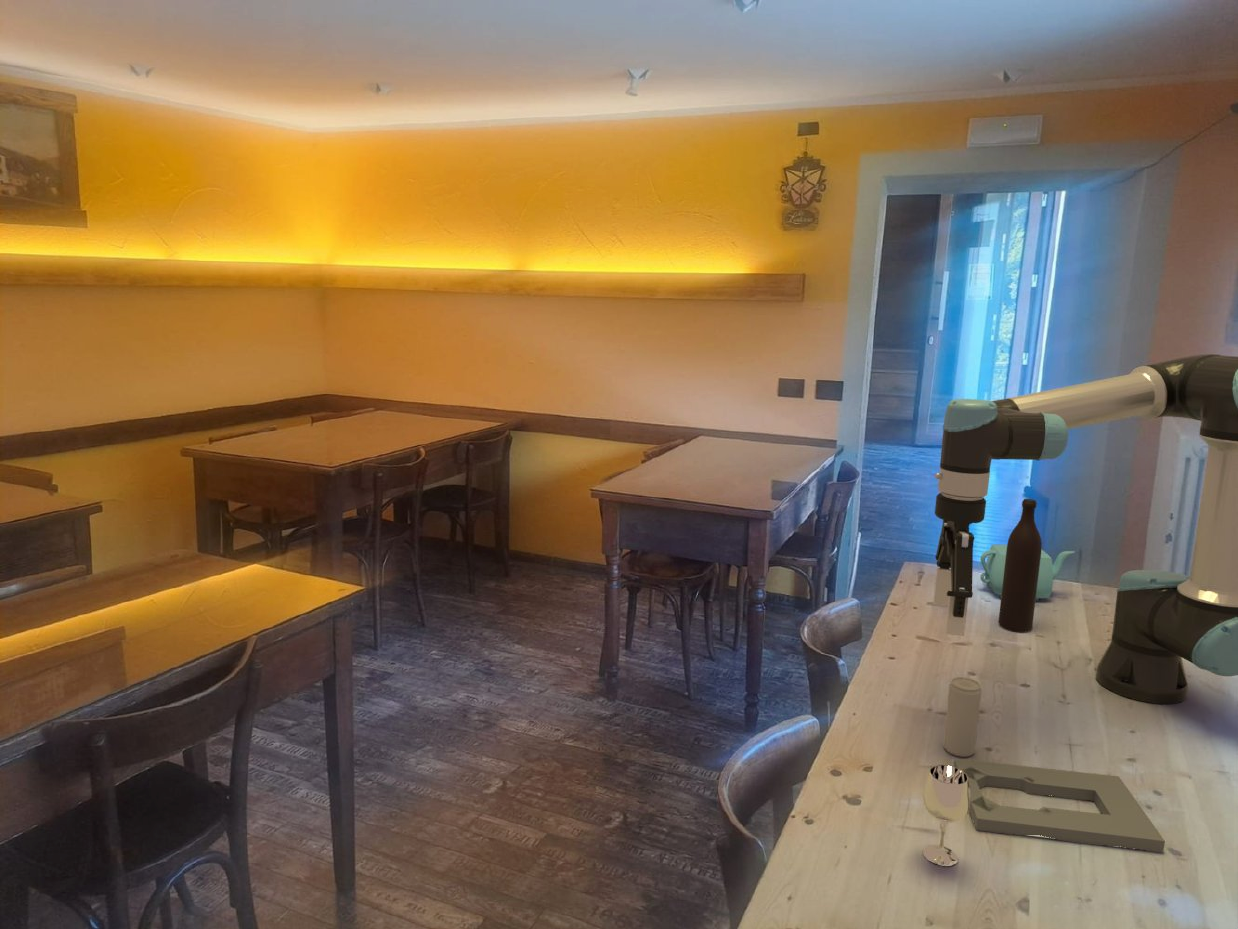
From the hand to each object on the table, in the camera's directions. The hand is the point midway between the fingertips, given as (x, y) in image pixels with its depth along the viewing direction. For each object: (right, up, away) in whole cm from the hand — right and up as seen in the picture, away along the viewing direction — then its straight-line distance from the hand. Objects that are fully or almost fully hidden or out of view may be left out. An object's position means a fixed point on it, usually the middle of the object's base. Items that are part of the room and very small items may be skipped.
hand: (947, 619), depth 140 cm
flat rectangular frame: (+9, -25, -16) cm, 31 cm away
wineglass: (-12, -27, -28) cm, 40 cm away
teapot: (+48, -8, +74) cm, 89 cm away
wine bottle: (+36, -12, +53) cm, 65 cm away
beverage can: (+1, -22, -1) cm, 22 cm away
